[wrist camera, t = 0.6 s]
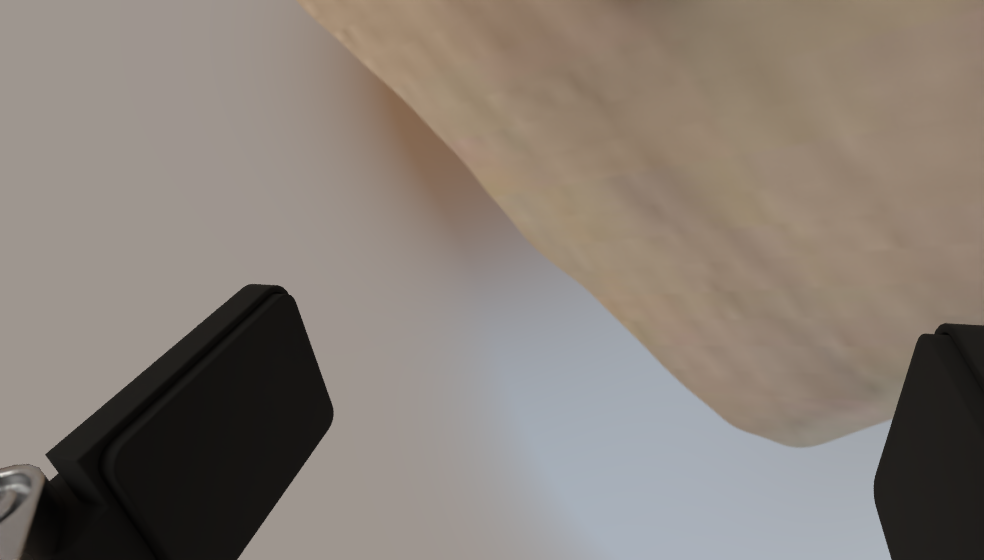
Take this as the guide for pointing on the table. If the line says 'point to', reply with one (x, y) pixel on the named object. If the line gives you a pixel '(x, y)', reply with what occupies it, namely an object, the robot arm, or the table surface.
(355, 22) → the table surface
